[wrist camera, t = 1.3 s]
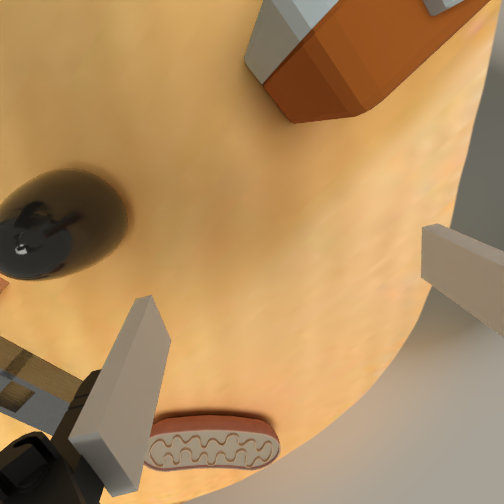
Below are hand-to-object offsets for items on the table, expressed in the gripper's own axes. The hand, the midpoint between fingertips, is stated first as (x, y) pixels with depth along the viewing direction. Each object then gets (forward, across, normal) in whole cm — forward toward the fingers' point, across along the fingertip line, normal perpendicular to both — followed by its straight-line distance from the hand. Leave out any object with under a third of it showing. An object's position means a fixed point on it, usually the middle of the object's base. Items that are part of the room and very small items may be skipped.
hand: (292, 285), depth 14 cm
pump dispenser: (+24, -19, +2) cm, 31 cm away
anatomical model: (+24, -15, -39) cm, 48 cm away
